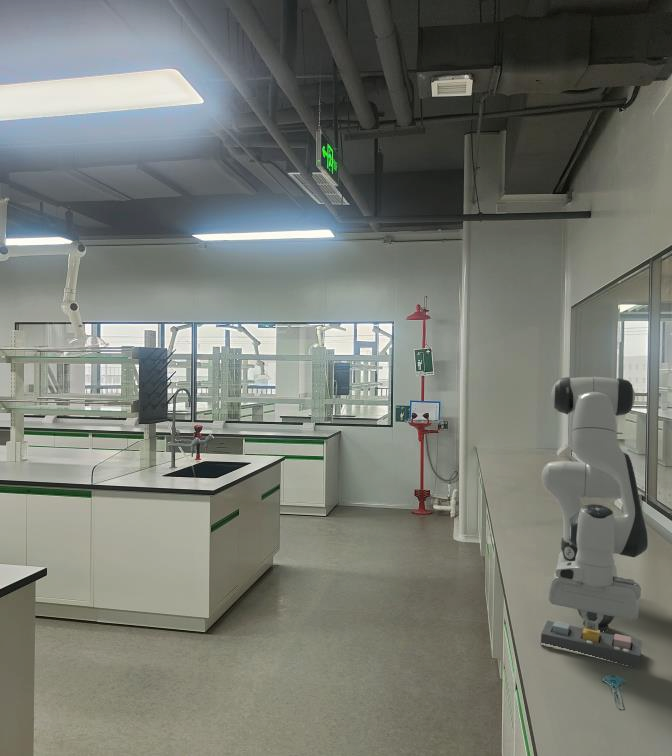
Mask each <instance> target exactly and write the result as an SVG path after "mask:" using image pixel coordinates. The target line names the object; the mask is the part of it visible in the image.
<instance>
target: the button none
mask: <svg viewBox="0 0 672 756" xmlns="http://www.w3.org/2000/svg"><path fill="white" fill-rule="evenodd" d="M553 622H554V624H553V629H552V632H554V633H558V634H563V635H567V636H568V635H569V632H570V626H571V624H570V623H569V622H568V623H567V622H563V621H559V620H554V621H553Z"/></svg>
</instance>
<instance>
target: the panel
mask: <svg viewBox="0 0 672 756" xmlns="http://www.w3.org/2000/svg"><path fill="white" fill-rule="evenodd" d="M554 622H555V621H551V620H547V621H546V623H545V624H544V627H543V629H542V631H541V633H540V634H541V635H540V644H541V643H545V644H550V645H553V646H558V647H561V648H566V649H569V650H573V651H578V652H581V653H584V654H588V655H592V656H595V657H599V658H603V659H606V660H610V661H613V662H617V663H620V664H619V665H621V664H624V665H623V666H625V665H628V666H627V667H630V666H632V667H631V668H634V667H637V668H636V669H638V668H639V669H640V666H641V665H640V664H641V657H640V656H642V640H639V639H633V638H631V648H630V650H629V649H625V648H620V647H616V646H614V636H615V634H611V633H607V632H603V633H602V632H600V639H599V643H598V642H594V641H589V640H585V639H582V634H583V629H584V627H578V626H573V625H570V632H569V635H568V636H567V635H563V634H558V633H554V632H552V629H553V624H554ZM613 662H612V663H613ZM617 663H616V664H617Z"/></svg>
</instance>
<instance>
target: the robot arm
mask: <svg viewBox="0 0 672 756" xmlns="http://www.w3.org/2000/svg"><path fill="white" fill-rule="evenodd" d="M635 394H636V393H635V390H634V388H633V384H632V383H631V382H630V381H629V380H627V379H623V378H619V377H617V378H611V377H603V376H581V377H578V376H577V377H569V376H568V377H567V376H566V377H562V378H561V377H560V378H558V379H557V380H556V381H555V382H554V385H553V386H552V389H551V394H550V398H551V402H552V405H553V407H554V409H555V410H556V411H558V413H561V414H566V415H569V417H568V431H567V433H568V434H567V435H568V437H567V445H568V447H569V448H570V450H571V451H572V452H573V453H574V454H575V455H576V456H577V458H578V459H579V460H581V461H569V460H557V461H550V462H548V463H546V464H545V465H544V467H543V469H542V471H541V476H540V478H541V479H540V480H541V483H542V485H543V488H544V489H545V491H547V492H548V493H549V494H550V495H551V496H553V498H554V499H555V500H556V502H557V503H558V505H559V507H560V509H561V514H562V523H563V526H562V527H563V530H562V531H563V533H562V537H561V542H560V550H561V552H560V553H559V554H558V560H557V566H556V567H555V572H554V573H553V578H552V580H551V584H550V588H549V592H548V593H549V595H548V600H549V602H550V604H551V605H555V606H560V607H565V608H571V609H574V610H577V609H579V610H581V616H582V617H581V616H580V617H581V619H582V620H583V622H584V621H585V628H586V629H591V630H595V631H598V624H599V623H600V622H601V620H602V619H603V616H604V615H608V616H613V617H614V618H618V619H624V620H628V621H629V620H630V621H635V620H637V619H638V618H639V599H640V598H641V595H642V587H641V586H640V584H639V583H638V582H636V581H635V580H633V579H630V578H628V579H627V578H623V577H620V576H619V577H618V576H617V575H618V574H617V566H616V564H615V559H614V554H616V555H617V554H618V555H620V556H626V557H631V558H636V557H638V556H639V555H641V554H643V553H644V552H645V551H646V550H647V549H648V545H649V533H648V532H649V531H648V529H647V527H646V526H647V525H646V523H645V519H644V518H645V517H644V515H643V514H644V513H643V511H642V505H641V499H640V495H639V489H638V484H637V481H636V480H637V479H636V476H635V475H636V474H635V470H634V467H633V463H632V460H631V458H630V455H629V454H628V453H626V452H624V451H623V450H622V448H621V446H620V445H619V442H618V439H617V419H616V417H617V416H623V415H627V414H629V413H630V412H631V411H632V408H633V406H634V404H635V401H636V395H635ZM583 498H585V499H595V500H602V501H603V500H606V501H609V500H620V499H621V503H622V509H623V514H619V515H618V514H614V512H613V510H612V509H611V508H610V507H608V506H604V505H602V504H595V503H594V504H593V503H592V504H590V503H589V504H586V505H584V504H583V503H582V500H581V499H583ZM588 611H589V612H593V613H597V618H598V619H597V620H596V621H592V620H589V619H588V617H587V612H588Z"/></svg>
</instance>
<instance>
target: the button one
mask: <svg viewBox="0 0 672 756" xmlns="http://www.w3.org/2000/svg"><path fill="white" fill-rule="evenodd" d="M583 628H584V629H583V634H582V639H585V640H589V641H594V642H598V643H599V639H600V630H598V631H595V630H591V629H586V628H585V627H584V626H583Z"/></svg>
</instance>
